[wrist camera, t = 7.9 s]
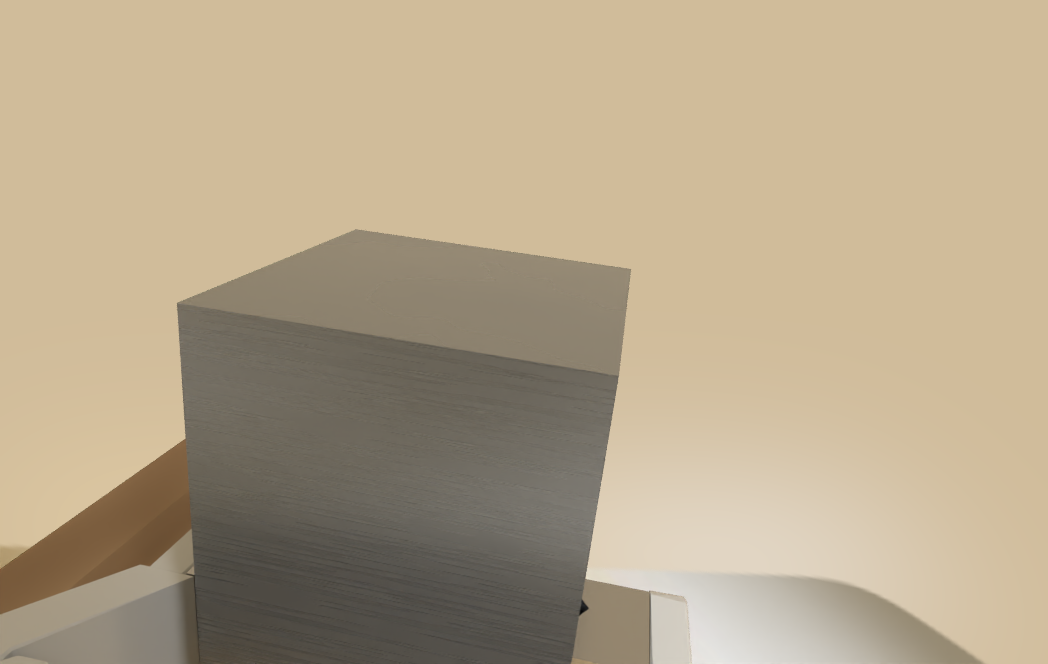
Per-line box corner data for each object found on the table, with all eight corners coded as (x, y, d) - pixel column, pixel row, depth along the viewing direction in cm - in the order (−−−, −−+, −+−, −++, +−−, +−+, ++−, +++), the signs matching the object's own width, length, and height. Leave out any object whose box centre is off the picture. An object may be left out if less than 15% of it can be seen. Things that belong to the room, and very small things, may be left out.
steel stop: (539, 827, 13) (630, 269, 9) (495, 1119, 9) (618, 375, 6) (342, 776, 13) (356, 229, 10) (224, 1033, 10) (176, 303, 6)
